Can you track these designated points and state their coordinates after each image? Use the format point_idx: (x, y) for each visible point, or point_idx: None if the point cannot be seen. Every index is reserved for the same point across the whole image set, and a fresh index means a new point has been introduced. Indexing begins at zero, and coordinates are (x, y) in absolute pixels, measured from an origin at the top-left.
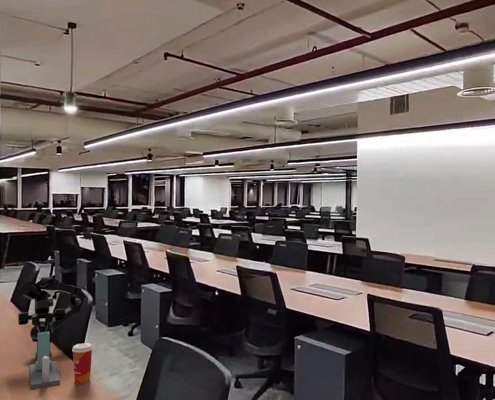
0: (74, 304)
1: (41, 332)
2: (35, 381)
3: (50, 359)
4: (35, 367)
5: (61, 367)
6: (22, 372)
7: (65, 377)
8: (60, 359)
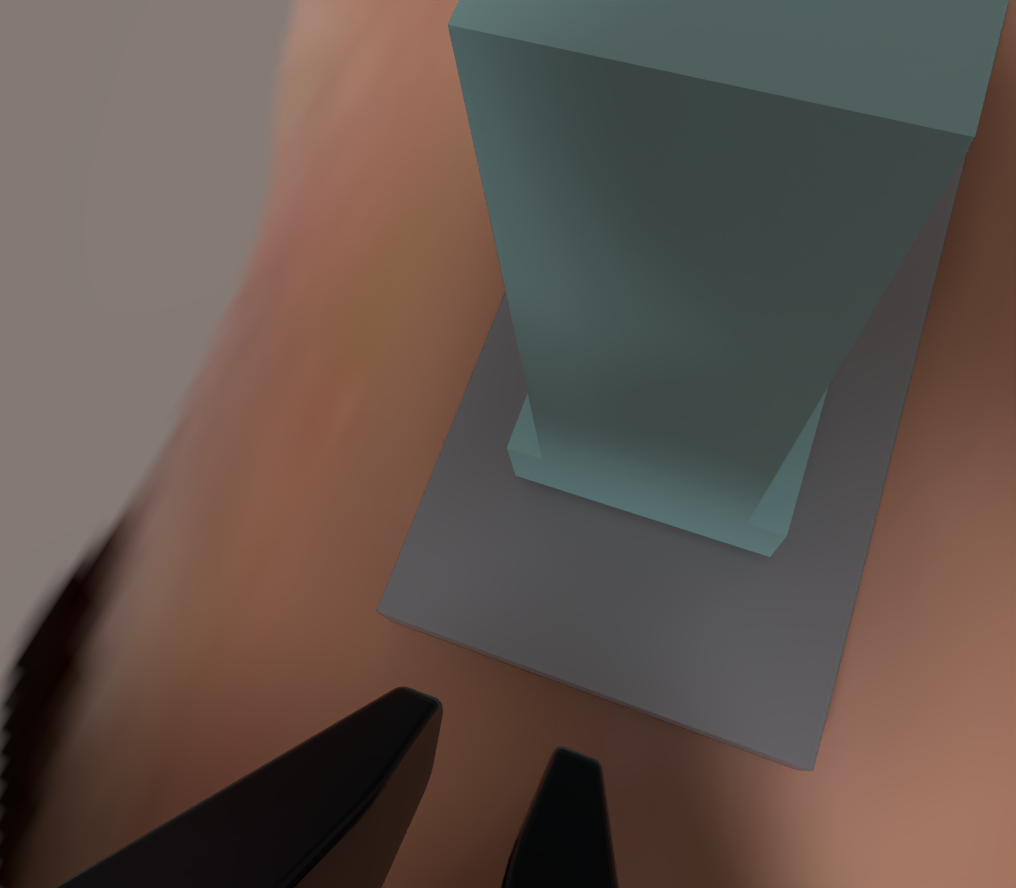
0: None
1: (803, 50)
2: None
3: (519, 446)
4: None
5: (391, 422)
6: (959, 664)
7: None
8: None
